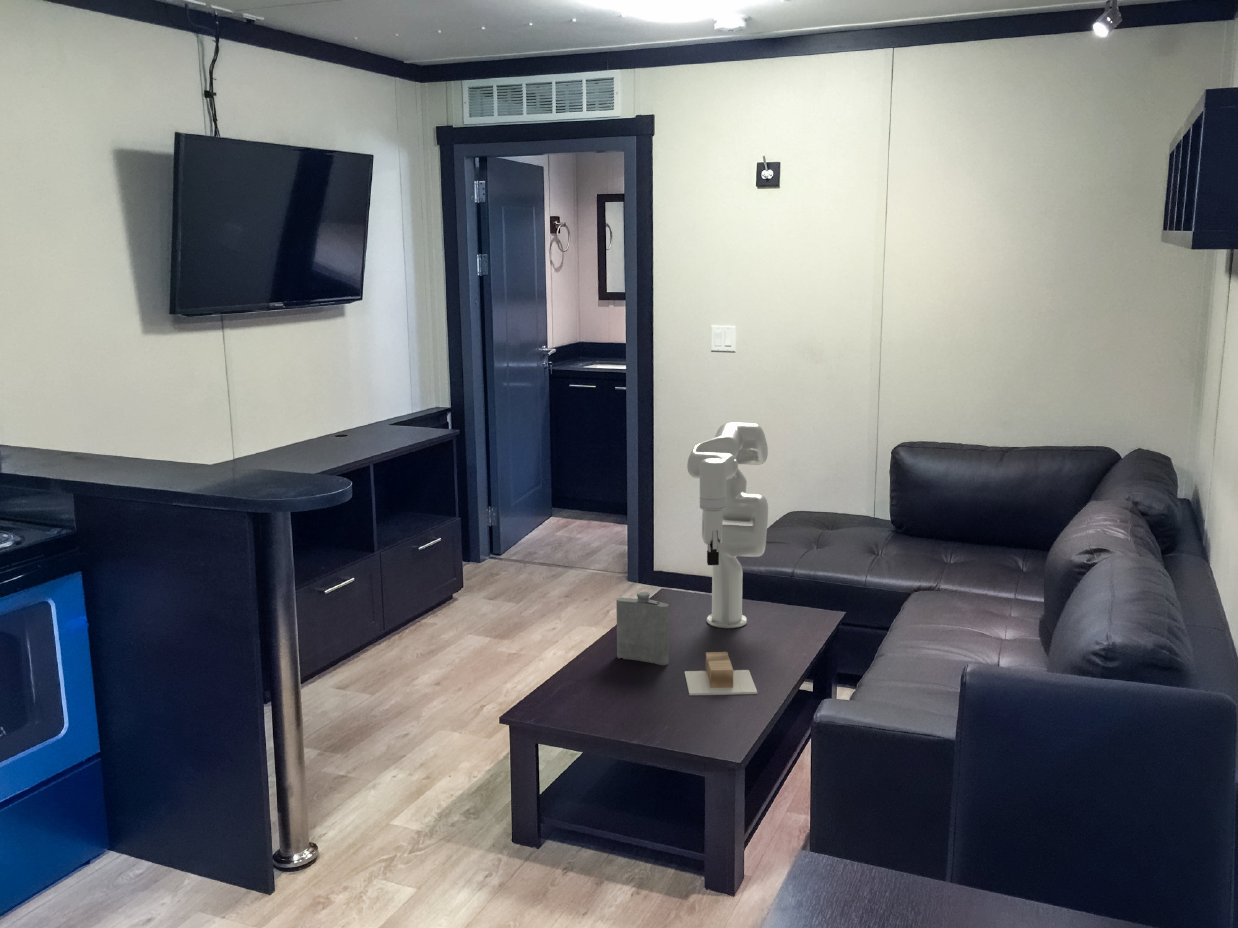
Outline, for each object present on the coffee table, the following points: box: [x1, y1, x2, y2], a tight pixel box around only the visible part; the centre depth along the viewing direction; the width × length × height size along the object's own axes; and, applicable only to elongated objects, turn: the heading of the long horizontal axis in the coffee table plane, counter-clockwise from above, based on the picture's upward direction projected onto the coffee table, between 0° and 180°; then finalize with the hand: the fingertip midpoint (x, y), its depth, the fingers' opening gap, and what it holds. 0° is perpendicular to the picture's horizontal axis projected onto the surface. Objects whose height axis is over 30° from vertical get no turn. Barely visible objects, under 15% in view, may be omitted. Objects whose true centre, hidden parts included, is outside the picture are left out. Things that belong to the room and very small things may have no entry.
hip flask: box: [615, 591, 670, 666], centre depth 303 cm, size 16×4×20 cm, turn 66°
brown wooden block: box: [705, 651, 734, 688], centre depth 289 cm, size 5×6×13 cm
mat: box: [684, 669, 758, 696], centre depth 287 cm, size 15×18×1 cm
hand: (712, 564), depth 302 cm, fingers closed
